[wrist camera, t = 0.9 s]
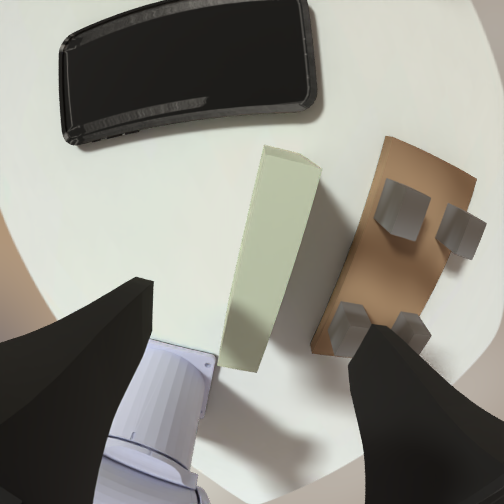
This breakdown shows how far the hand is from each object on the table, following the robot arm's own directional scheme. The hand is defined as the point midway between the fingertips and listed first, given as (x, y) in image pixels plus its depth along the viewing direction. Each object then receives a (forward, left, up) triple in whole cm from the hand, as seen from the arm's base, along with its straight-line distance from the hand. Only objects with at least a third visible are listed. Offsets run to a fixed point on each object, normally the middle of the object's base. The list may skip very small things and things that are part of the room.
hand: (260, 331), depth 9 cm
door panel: (0, 0, -9) cm, 9 cm away
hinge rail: (0, -9, -9) cm, 12 cm away
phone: (+9, +7, -9) cm, 15 cm away
